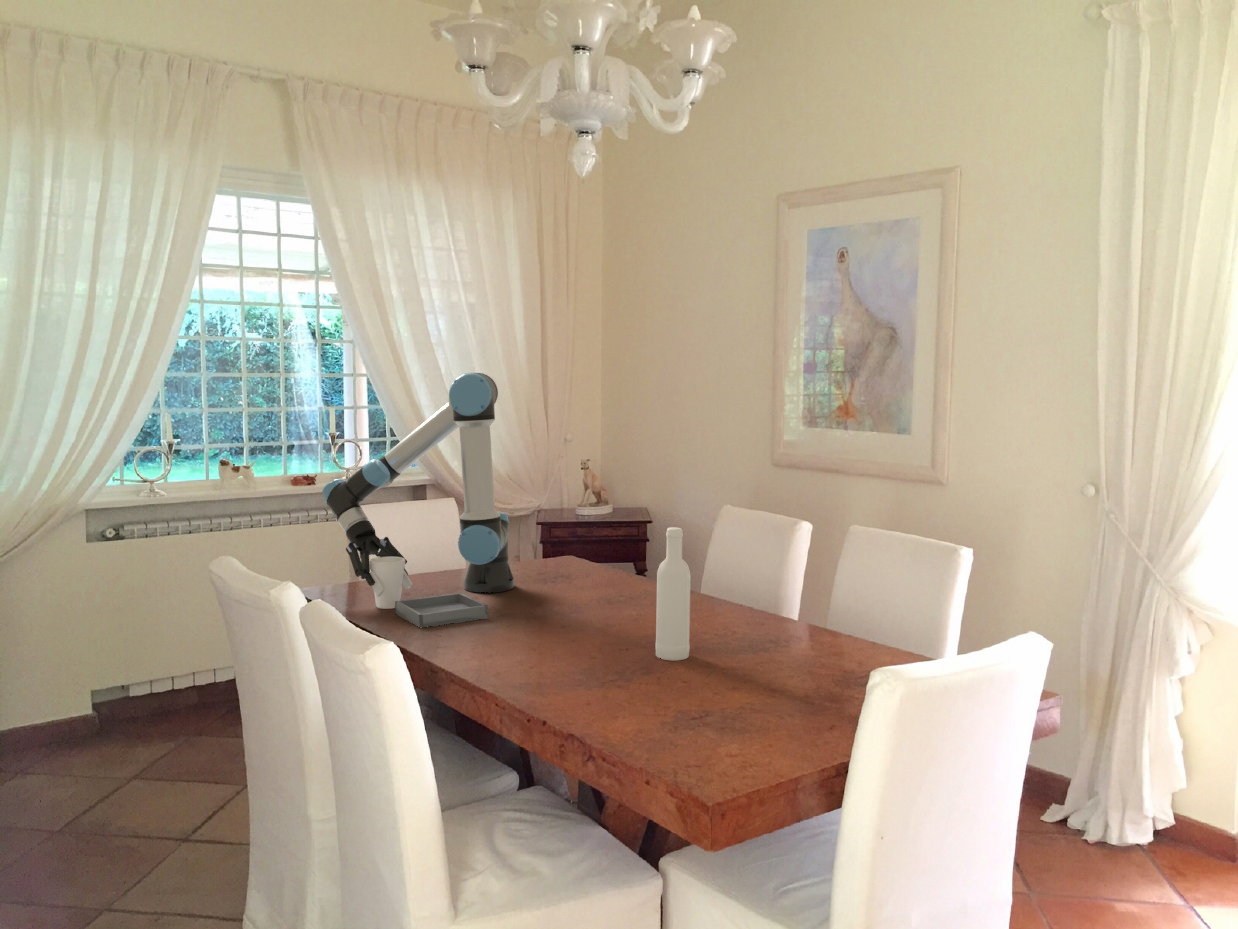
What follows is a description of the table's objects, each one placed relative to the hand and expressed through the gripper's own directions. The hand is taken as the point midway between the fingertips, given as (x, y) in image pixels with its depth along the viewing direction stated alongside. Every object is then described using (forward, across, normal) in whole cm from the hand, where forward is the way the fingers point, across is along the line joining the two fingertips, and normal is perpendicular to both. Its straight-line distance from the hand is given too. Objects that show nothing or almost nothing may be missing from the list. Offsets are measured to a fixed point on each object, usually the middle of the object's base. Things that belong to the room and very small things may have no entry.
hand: (395, 590), depth 264 cm
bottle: (+63, -10, +56) cm, 85 cm away
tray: (+15, -1, +8) cm, 17 cm away
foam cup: (+1, 0, -6) cm, 6 cm away
